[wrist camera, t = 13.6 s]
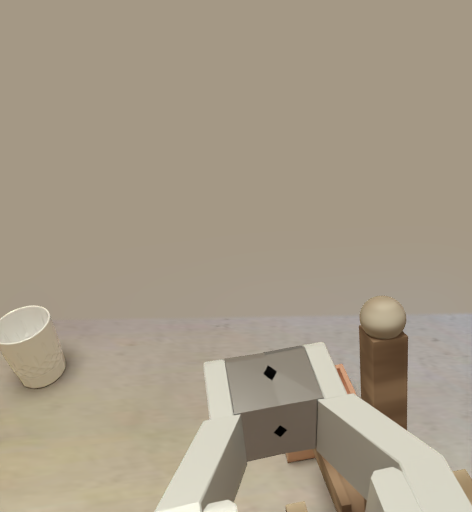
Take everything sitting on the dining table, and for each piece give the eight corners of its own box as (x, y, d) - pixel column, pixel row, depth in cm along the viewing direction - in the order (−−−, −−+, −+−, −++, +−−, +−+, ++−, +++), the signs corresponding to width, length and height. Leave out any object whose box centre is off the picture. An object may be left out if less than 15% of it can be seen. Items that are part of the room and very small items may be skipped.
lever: (461, 534, 35) (478, 292, 28) (322, 564, 35) (303, 322, 27) (387, 422, 48) (385, 235, 41) (283, 441, 47) (264, 254, 40)
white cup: (63, 345, 72) (43, 298, 66) (75, 376, 66) (55, 328, 61) (13, 366, 69) (-13, 319, 63) (21, 401, 63) (-6, 352, 58)
